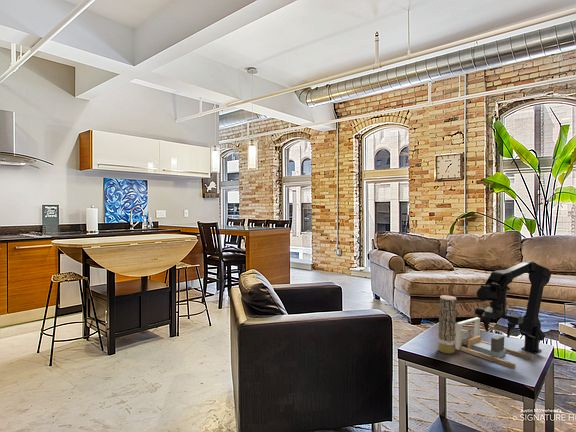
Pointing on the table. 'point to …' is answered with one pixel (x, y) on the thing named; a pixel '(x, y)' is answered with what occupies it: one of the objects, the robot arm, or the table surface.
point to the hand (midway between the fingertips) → (497, 334)
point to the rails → (497, 358)
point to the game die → (465, 337)
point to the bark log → (447, 324)
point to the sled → (488, 346)
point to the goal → (459, 330)
